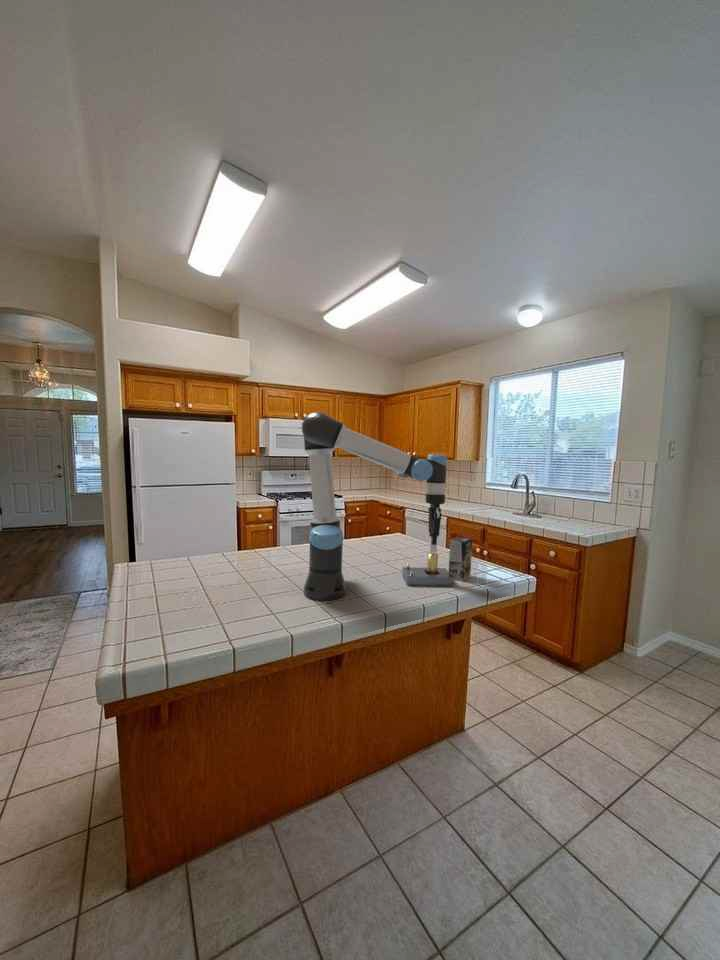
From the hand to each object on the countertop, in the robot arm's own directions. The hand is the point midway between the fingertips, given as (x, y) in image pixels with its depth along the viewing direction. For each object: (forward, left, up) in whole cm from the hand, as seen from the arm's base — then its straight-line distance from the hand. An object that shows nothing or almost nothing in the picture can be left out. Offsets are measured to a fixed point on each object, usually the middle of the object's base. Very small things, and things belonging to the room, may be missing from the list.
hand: (432, 551), depth 155 cm
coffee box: (+13, +5, -12) cm, 19 cm away
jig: (-2, 0, -12) cm, 12 cm away
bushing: (0, 0, -12) cm, 12 cm away
